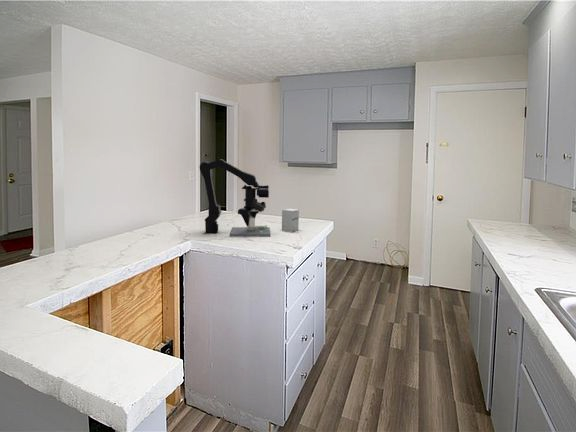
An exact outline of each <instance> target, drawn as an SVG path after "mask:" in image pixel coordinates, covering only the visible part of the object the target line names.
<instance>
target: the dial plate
mask: <svg viewBox="0 0 576 432" xmlns="http://www.w3.org/2000/svg"><path fill="white" fill-rule="evenodd" d="M259 226H262V225H259ZM229 237H231V238H232V237H233V238H234V237H237V238H238V237H243V238H244V237H249V238H250V237H252V238H253V237H255V238H257V237H260V238H261V237H262V238H263V237H267V238H268V237H271V227H269V226H267V227H254V231H247V226H234V227H231V230H230V232H229Z"/></svg>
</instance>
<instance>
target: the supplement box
mask: <svg viewBox="0 0 576 432" xmlns="http://www.w3.org/2000/svg"><path fill="white" fill-rule="evenodd" d="M299 218H300V209H296V208H285V209H284V208H283V209H281V231H283V232H286V233H287V232H288V233H292V232H296V231H297V232H298V231H299Z"/></svg>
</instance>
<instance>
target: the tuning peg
mask: <svg viewBox="0 0 576 432" xmlns="http://www.w3.org/2000/svg"><path fill="white" fill-rule="evenodd" d="M246 227H247V231H254V227H268V225H267V224H265V225H262V226H260V225H256V217H255V218H254V217H252V216H250V219H249V225H248V226H247V225H246Z"/></svg>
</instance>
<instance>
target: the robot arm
mask: <svg viewBox="0 0 576 432" xmlns="http://www.w3.org/2000/svg"><path fill="white" fill-rule="evenodd" d="M217 168H222V169H224V170H226V171H227V172H229V173H230V174H233V175H234V176H236V177H238V178H239V180H241V181H242V182H243V183H245V184H244V185H243V186H242V187H241V189H242V190H245V191H244V194H245V195H244V197H245V198H244V199H243V202H244V206H243V207H242V208H239V209H238V210H237V215H241V217H242V220H243V221H244V223H245V225H246V227H247V226H248V225H249V219H250V216H252V217H254V218H255V219H256V217H257V215H258V214H259V213H262V212H264V210H265V209H266V208H267V205H266V201H260V202H259V201H258V199H257V197H258V198H260V199H261V198H265V199H267V198H269V196H270V190H269V188H270V187H269V185H267V184H266V185H260V184H259V183H258V182H257V178H256V176H255V175H254V174H252V173H249V172H246V171H244V170H241V169H239V168H238V167H236V166H234V165H232V164H230V163H228V162H227V161H225V160H224V159H218V160H215V161H212V162H209V161H203V162H201V163H200V164H199V171H200V174H201V176H202V178H203V180H204V185H205V190H206V195H207V200H208V215H207V216H206V218H204V225H205V226H204V227H205V230H204V231H205V232H204V234H212V235H213V234H215V235H216V234H217V233H218V232H219V223H218V221H217V220H218V219H219V217H221V213H222V212H223V211H222V209H221V208H222V207H221V205H220V204H218V203H217V198H216V193H215V189H214V183H213V169H217Z"/></svg>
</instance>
